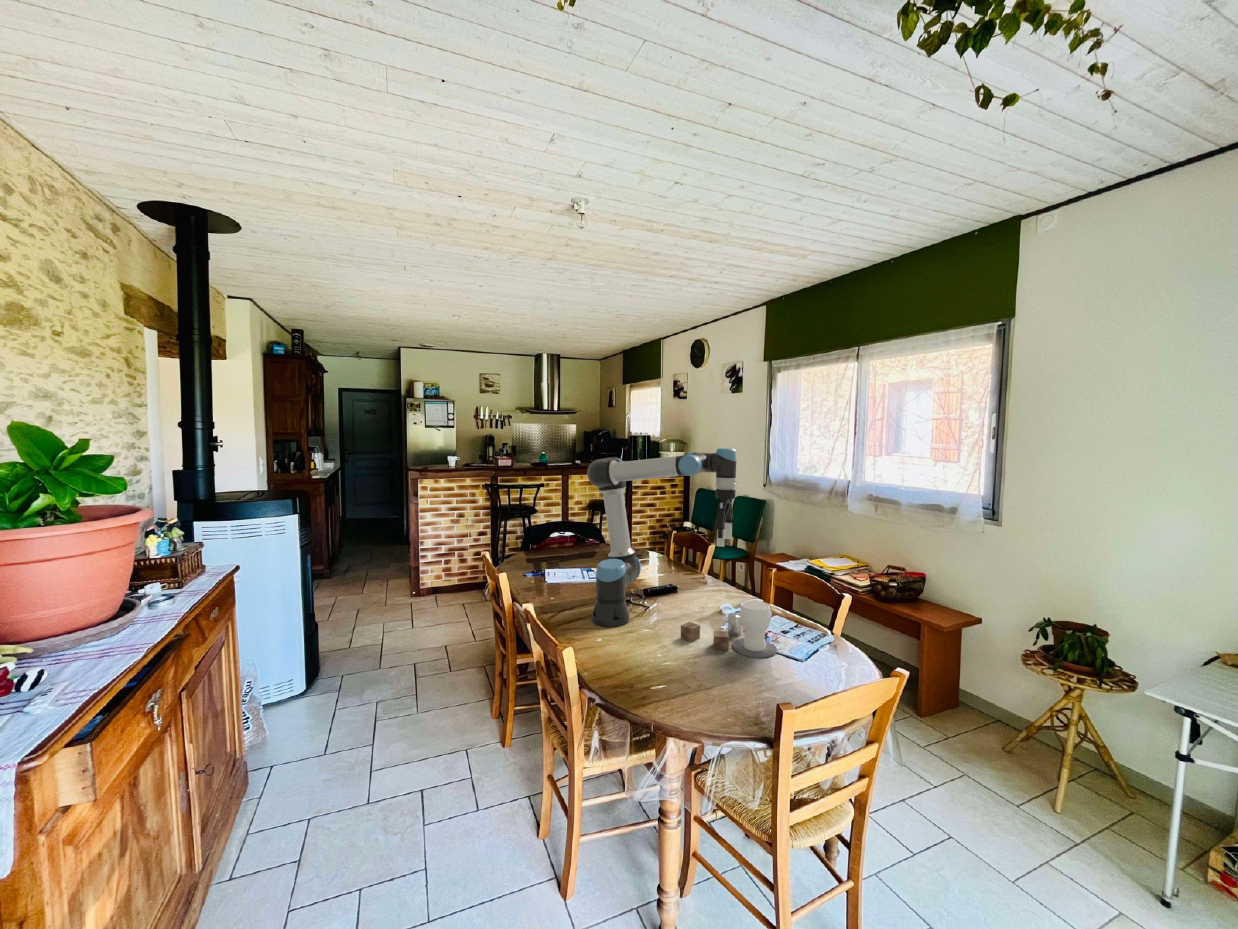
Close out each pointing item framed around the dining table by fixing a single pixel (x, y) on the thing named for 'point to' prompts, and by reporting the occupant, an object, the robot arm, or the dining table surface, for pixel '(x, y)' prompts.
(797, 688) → the dining table surface
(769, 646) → the disc
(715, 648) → the walnut block
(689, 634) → the walnut block
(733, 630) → the grey tin
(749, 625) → the cup
